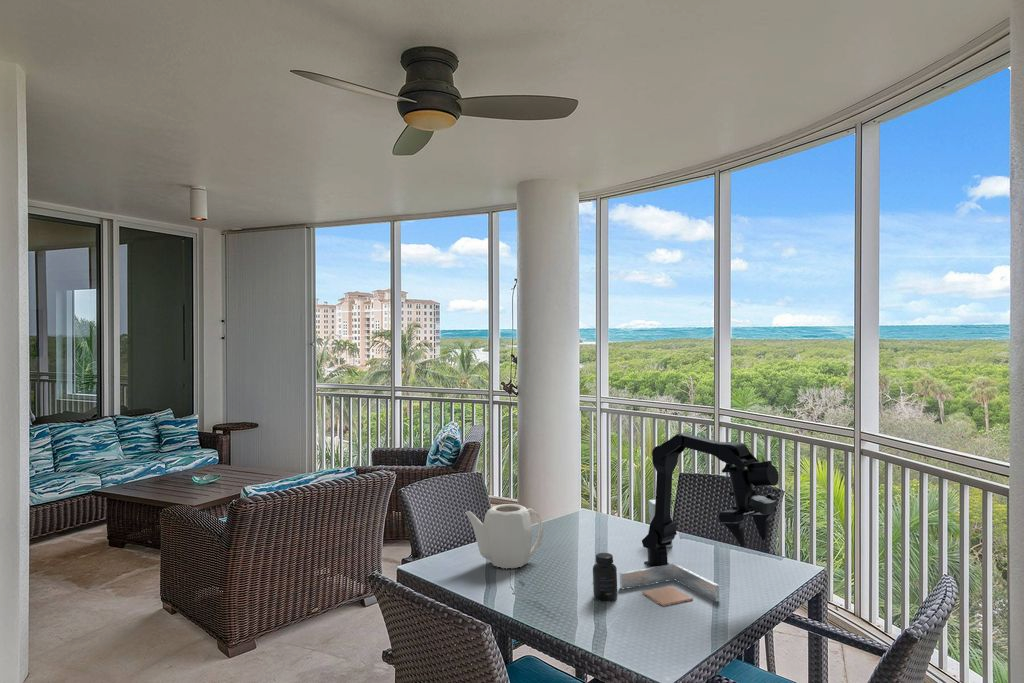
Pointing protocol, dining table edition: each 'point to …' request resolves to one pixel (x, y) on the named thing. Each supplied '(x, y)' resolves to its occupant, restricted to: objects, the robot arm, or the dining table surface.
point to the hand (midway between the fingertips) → (753, 543)
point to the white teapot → (506, 535)
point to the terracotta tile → (667, 595)
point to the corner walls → (670, 573)
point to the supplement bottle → (604, 578)
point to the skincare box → (652, 513)
